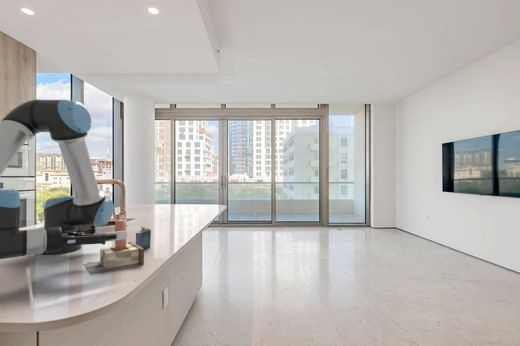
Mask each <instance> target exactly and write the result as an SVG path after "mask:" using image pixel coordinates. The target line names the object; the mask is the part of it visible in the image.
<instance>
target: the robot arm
mask: <svg viewBox="0 0 520 346" xmlns="http://www.w3.org/2000/svg"><path fill="white" fill-rule="evenodd" d="M91 127H92V118H91V114H90V113H89V110H88V108H86V106H85V105H84V104H83V103H81V102H79V101H77V100H70V99H33V100H32V99H31V100H28V101H26V102H23V103H20V104H19V105H18V106H16V107H15V108H13V109H12V110H10V112H8V113H7V114H6V115H5V116H4V117H3V118H2V119H1V120H0V177H2V175H3V173H4V172H5V170H6V169H7V168H8V167H9V165H10V164H11V163H12V161H13V159H14V158H15V157H16V155H18V153H19V152H20V150H21V149H22V148H23V146H24V145H25V143H26V142H27V141H31V140H32V139H33V138H34V136H35V135H37V134H39V133H49V135H50V138H51V140H52V141H54V142H55V143H58V144H57V145H58V147H59V150H60V153H61V156H62V160H63V162H64V164H65V168H66V171H67V174H68V176H69V180H70V184H71V186H72V189H73V191H74V192H73V193H74V195H70V196H69V195H67V196H61V197H51V198H48V199H46V200H45V202H44V211H43V213H44V214H43V216H44V218H43V227H41V228H40V227H39V228H32V229H31V228H29V229H28V228H27V229H24V230H22V229H20V218H21V217H20V216H21V199H20V198H21V196H20V195H21V194H20V191H18V190H17V189H0V260H6V259H12V258H18V257H19V258H20V257H26V256H29V257H30V258H32V257H35V255H39V254H40V255H57V254H63V253H64V254H65V253H71V252H74V251H78V250H80V249H82V246H83V245H85V246H86V245H102V246H103V245H106V243H108V242H115V240H122V239H126V240H127V239H128V237H127V236H128V231H127V230H126V231H118V232H115V224H114V225H107V224H108V223H109V222H110V220H111V219H112V216H113V213H114V209H115V208H114V202H113V200H111V199H110V198H106V196H105V192H103V191H101V190H100V188H99V185H98V183H97V179H96V175H95V171H94V168H93V164H92V161H91V158H90V153H89V150H88V147H87V143H86V137H87V136H88V132H89V131H90V130H91ZM78 226H79V227H81V228H78ZM82 226H85V227H82ZM87 226H88V227H87Z"/></svg>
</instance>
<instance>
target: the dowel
mask: <svg viewBox="0 0 520 346" xmlns="http://www.w3.org/2000/svg"><path fill="white" fill-rule="evenodd" d="M114 225H115V232H118V231H127V220H126V219H117V220H115V221H114ZM126 244H127V239H122V240H115V241H114V246H115V251H118V250H124V249H126Z"/></svg>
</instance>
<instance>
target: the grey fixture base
mask: <svg viewBox="0 0 520 346" xmlns="http://www.w3.org/2000/svg"><path fill="white" fill-rule="evenodd" d="M127 244H131V245H133V246H134V247H136V248H138V249H139V256H138V263H136V264H131V265H126V266H121V267H116V268H110V269H106V268H105V267H104V266H103V265H102V264H101V263H100V260H98V261H93V262H87V263H82V266H83V268H85V270H86V271H87V273H88V274H89V275H90V276H93V275H98V274H103V273H108V272H112V271H118V270H123V269H127V268H133V267H137V266H142V265H145V264H144V263H145V250H144V248H142V247H140V246H138V245H137V244H136V242H133V241H129V242H128V243H127Z"/></svg>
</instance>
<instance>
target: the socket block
mask: <svg viewBox="0 0 520 346" xmlns="http://www.w3.org/2000/svg"><path fill="white" fill-rule="evenodd" d="M99 250H100V251H99V261H100V263H101V264H102V265H103V266H104V267H105V268H106V269H110V268H116V267H121V266H126V265H131V264H136V263H138V256H139V249H138V248H136V247H134V246H133V245H131V244H128V243H126V249H124V250H118V251H115V245H112V246H106V247H100V248H99Z"/></svg>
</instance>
